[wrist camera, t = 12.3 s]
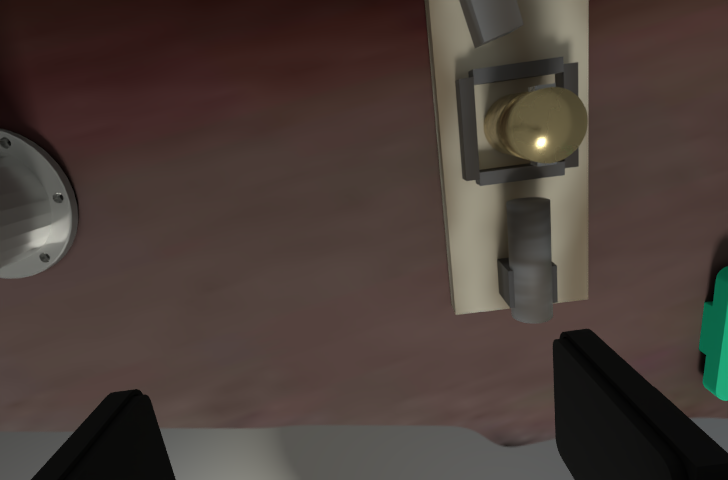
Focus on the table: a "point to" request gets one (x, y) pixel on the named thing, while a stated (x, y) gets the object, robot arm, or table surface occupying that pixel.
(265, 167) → the table surface
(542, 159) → the yellow round-topped cylinder
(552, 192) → the stand
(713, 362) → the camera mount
